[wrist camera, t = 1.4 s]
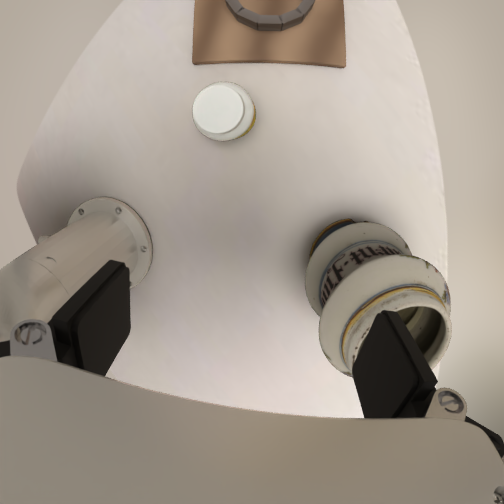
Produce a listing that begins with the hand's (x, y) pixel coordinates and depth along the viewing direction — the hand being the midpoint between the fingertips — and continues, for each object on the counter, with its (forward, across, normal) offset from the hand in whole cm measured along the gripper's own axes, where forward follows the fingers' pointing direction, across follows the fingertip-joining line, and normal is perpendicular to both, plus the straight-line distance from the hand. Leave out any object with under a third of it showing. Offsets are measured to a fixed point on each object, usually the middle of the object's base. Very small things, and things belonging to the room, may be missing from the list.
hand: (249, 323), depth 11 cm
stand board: (+24, +3, -22) cm, 33 cm away
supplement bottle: (+25, +5, -8) cm, 26 cm away
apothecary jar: (+25, -12, +6) cm, 28 cm away
